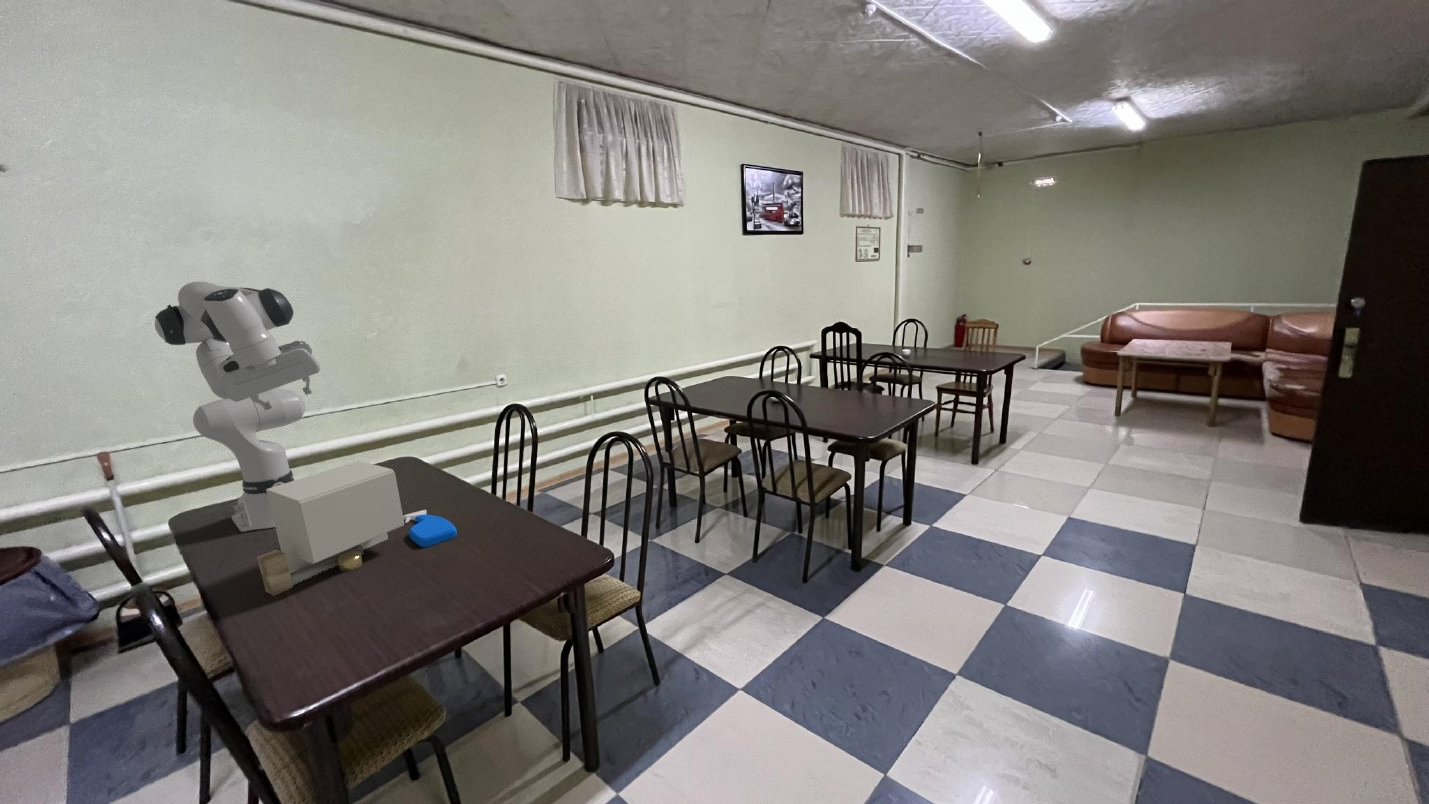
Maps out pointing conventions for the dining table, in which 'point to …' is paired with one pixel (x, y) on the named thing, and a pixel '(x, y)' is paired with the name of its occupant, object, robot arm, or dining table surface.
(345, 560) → the brass puck
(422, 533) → the spray bottle
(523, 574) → the dining table surface
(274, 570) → the wooden handled saw
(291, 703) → the dining table surface
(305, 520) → the cabinet
